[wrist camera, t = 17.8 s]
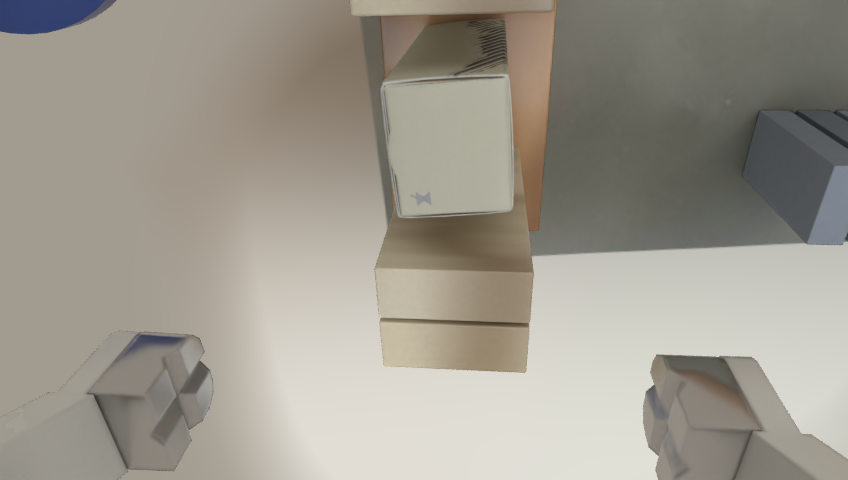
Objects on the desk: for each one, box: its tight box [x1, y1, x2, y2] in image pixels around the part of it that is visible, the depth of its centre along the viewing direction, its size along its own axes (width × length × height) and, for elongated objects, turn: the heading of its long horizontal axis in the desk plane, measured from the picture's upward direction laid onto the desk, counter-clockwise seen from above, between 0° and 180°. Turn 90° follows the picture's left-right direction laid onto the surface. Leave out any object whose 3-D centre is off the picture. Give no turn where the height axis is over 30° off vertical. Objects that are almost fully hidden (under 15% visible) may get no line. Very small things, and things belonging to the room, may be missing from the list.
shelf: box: [350, 0, 557, 373], centre depth 32 cm, size 9×20×31 cm, turn 2°
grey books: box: [742, 110, 848, 245], centre depth 43 cm, size 8×6×12 cm
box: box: [380, 18, 514, 218], centre depth 24 cm, size 5×4×13 cm
